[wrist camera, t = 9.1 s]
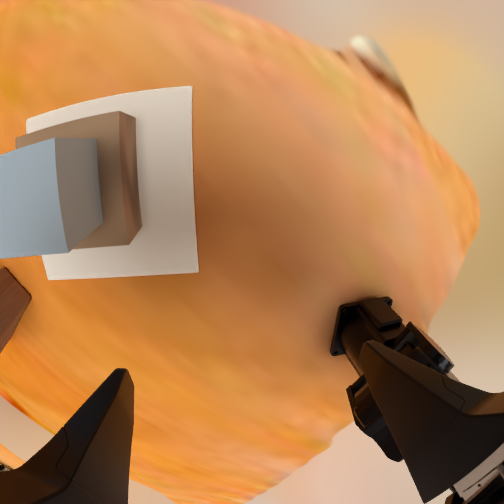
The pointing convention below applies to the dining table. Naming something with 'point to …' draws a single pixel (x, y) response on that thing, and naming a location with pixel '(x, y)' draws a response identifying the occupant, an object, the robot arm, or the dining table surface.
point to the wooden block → (10, 305)
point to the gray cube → (48, 197)
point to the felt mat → (142, 188)
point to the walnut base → (106, 172)
